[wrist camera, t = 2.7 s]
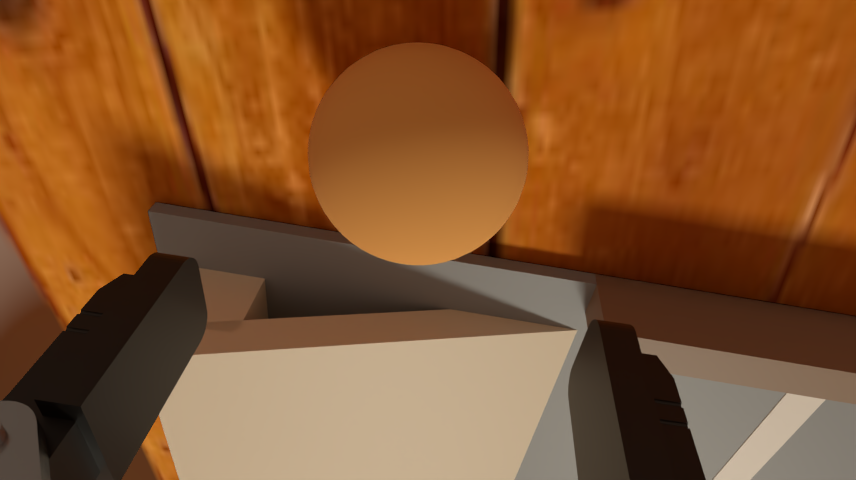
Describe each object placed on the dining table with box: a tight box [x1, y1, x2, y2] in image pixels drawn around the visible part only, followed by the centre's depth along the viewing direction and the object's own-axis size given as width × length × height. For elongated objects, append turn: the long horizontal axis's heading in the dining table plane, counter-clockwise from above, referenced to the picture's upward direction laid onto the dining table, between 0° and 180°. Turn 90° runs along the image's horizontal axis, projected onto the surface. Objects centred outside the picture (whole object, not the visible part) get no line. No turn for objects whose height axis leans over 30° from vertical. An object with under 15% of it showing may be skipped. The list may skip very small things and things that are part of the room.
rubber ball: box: [308, 42, 528, 265], centre depth 15 cm, size 6×6×6 cm
